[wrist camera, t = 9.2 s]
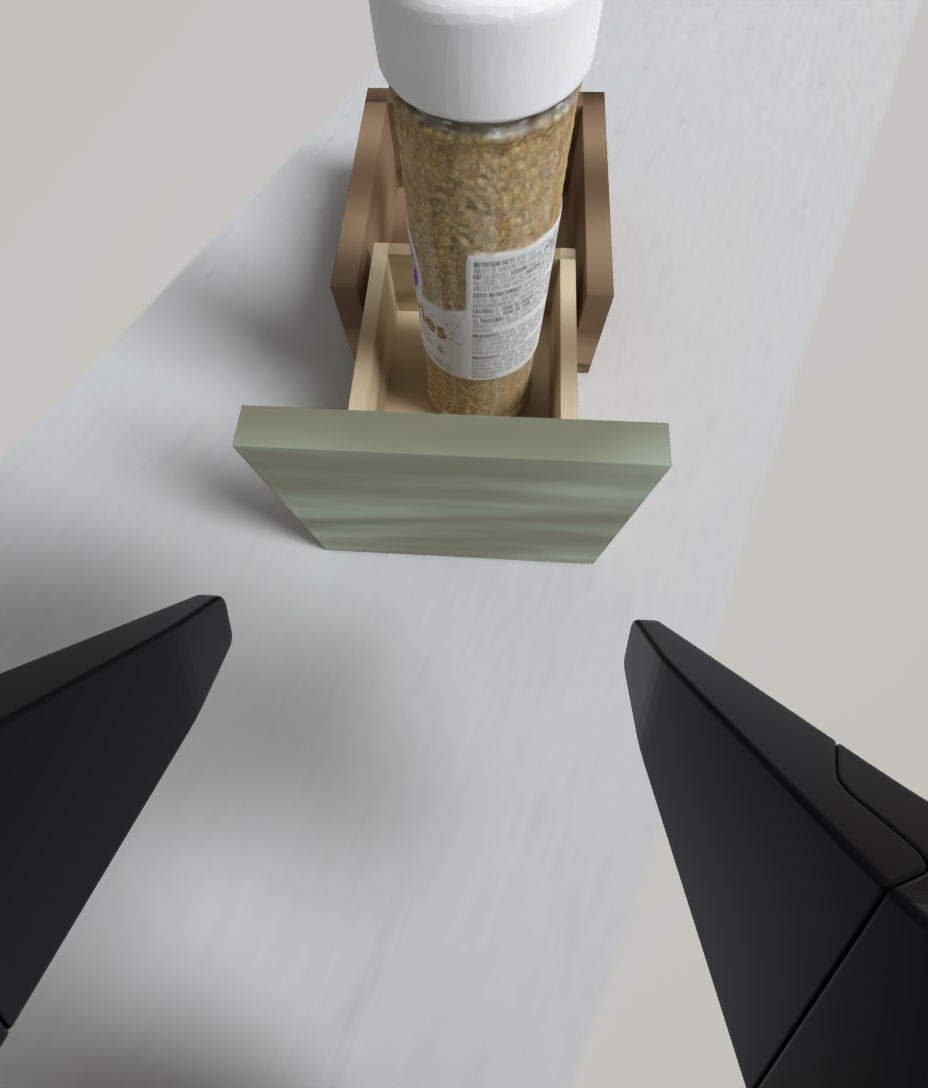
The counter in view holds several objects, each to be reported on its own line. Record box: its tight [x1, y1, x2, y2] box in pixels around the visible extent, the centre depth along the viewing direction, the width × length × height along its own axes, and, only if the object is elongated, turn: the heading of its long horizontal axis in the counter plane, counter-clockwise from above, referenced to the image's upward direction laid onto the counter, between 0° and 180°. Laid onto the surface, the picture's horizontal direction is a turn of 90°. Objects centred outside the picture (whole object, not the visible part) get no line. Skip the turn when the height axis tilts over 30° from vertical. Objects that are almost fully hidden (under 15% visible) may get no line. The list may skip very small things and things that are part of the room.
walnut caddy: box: [330, 88, 614, 372], centre depth 23 cm, size 12×11×4 cm
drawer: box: [232, 243, 672, 564], centre depth 18 cm, size 12×11×8 cm
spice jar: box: [369, 0, 603, 417], centre depth 15 cm, size 5×5×13 cm
